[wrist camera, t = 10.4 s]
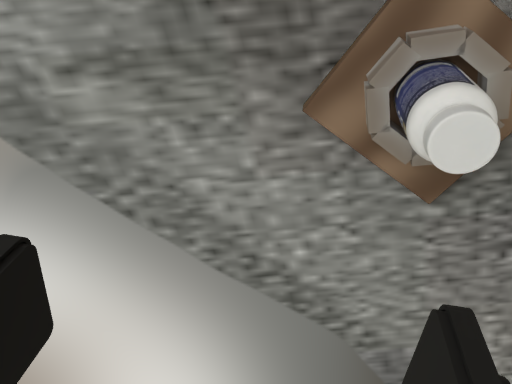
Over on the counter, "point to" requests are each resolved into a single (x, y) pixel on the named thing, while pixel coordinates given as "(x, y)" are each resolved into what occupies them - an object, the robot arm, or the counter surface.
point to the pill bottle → (447, 117)
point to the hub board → (368, 49)
